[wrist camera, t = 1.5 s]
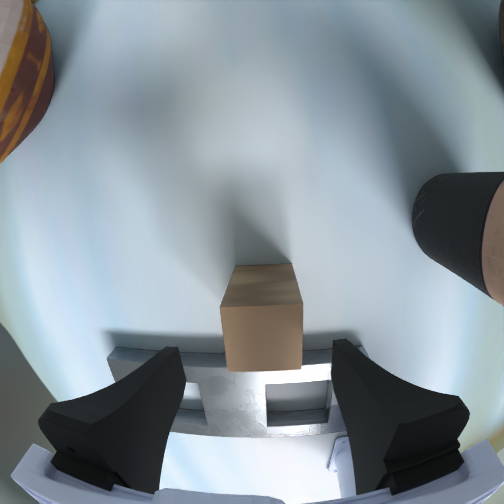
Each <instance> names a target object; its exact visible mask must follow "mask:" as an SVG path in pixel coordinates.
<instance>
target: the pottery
mask: <svg viewBox="0 0 504 504" xmlns="http://www.w3.org/2000/svg"><path fill="white" fill-rule="evenodd" d="M499 34H500V41H501V46H502V52H503V56H504V0H501V5H500V10H499Z"/></svg>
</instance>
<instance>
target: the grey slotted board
mask: <svg viewBox="0 0 504 504" xmlns="http://www.w3.org/2000/svg"><path fill="white" fill-rule="evenodd" d="M355 347H356V348H357V349H359V350H360V351H361V352H362V353H363V354H364V355H366V356H367V357H368V358H369V356H368V354H367V352H366V351H365V349H364V347H363V345H361V346H355ZM332 350H333V349H324V350H312V351H302V370H288V371H264V372H228V368H227V360H226V354H220V353H184V352H179V353H180V357H181V361H182V364H183V368H184V372H185V375H186V379H187V380H186V382H192V383H198V386H199V391H200V395H201V399H202V403H203V407H204V411H199V410H187V409H178V411H177V414H176V416H175V419H174V422H173V424H172V427H171V430H170V432H177V433H186V434H195V435H206V436H221V437H289V436H304V435H315V434H324V433H333V432H340V431H347V430H346V426H345V423H344V420H343V417H342V414H341V411H340V408H339V405H338V402H337V399H336V396H335V393H334V390H333V385H332V380H331V374H330V373H331V362H332ZM158 352H159V351H151V350H139V349H129V348H120V347H116V348H115V349H114V350H113V351H112V352H111V354H110V355H109V356H108V357H107V361H108V364H109V367H110V369H111V372H112V375H113V377H114V380H115V382H117V381H119V380H121V379H122V378H124V377H125V376H127V375H128V374H130V373H131V372H133V371H134V370H136V369H137V368H139V367H140V366H141V365H143V364H144V363H145V362H147V361H148V360H149V359H150V358H152V357H153V356H154V355H156V354H157V353H158ZM369 359H370V358H369ZM321 380H329V384H328V392H327V399H326V407H325V408H324V409H314V410H302V411H287V412H267V398H266V384H276V383H295V382H309V381H321Z"/></svg>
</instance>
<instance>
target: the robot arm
mask: <svg viewBox="0 0 504 504" xmlns="http://www.w3.org/2000/svg"><path fill="white" fill-rule="evenodd" d="M330 374H331V380H332V385H333V390H334V393H335V396H336V399H337V402H338V405H339V408H340V411H341V414H342V417H343V420H344V423H345V426H346V430H347V433H348V437H341V438H338V439H336V441H335V445H334V449H333V453H332V456H331V460H330V464H329V468H328V472H329V473H334V472H337V475H338V481H339V487H340V492H341V499H335V500H329V501H322V502H314V503H305V504H482V503H483V502H484V501H485V500H486V499H487V498H489V496H491V495H492V494H493V493H494V492H495V491H496V490H497V489H498V488H499V487H501V486H502V485H503V484H504V466H503V464H502V463H501V461H500V459H499V458H498V456H497V454H496V453H495V451H494V449H493V448H492V446H491V444H490V443H489V441H488V440H487V439H484V440H483V441H481V442H479V443H477V444H475V445H473V446H471V447H469V448H468V449H466V450H465V451H463V452H462V453H461V454H460V452H459V450H458V448H459V447H460V443H459V441H458V440H457V439H458V437H459V436H460V434H461V432H462V431H463V429H464V428H465V426H466V424H467V422H468V420H469V415H470V412H469V410H468V408H467V407H466V406H465V404H464V403H463V401H462V400H461V399H460V397H459V396H455V395H449V394H443V393H438V392H435V391H431V390H427V389H424V388H421V387H419V386H416V385H414V384H411V383H409V382H407V381H404V380H402V379H400V378H399V377H397V376H395V375H393V374H391V373H390V372H388V371H386V370H385V369H383V368H382V367H380V366H379V365H377V364H376V363H375V362H373V361H372V360H371V359H369V358H368V357H367V356H366V355H364V354H363V353H362V352H361V351H360V350H359V349H357V348H356V347H355V346H354V345H353V344H352V343H350V342H349V341H348V340H347V339H339V340H333V350H332V362H331V373H330ZM186 380H187V379H186V375H185V372H184V368H183V364H182V361H181V357H180V353H179V349H178V347H165V348H164V349H162V350H161V351H159V352H158V353H157V354H156V355H154V356H153V357H152V358H150V359H149V360H148V361H147V362H145V363H144V364H143V365H141V366H140V367H139V368H137V369H136V370H134V371H133V372H131V373H130V374H128V375H127V376H125V377H124V378H122V379H121V380H119V381H117V382H115V383H114V384H112V385H110V386H108V387H106V388H103V389H101V390H99V391H96V392H94V393H92V394H89V395H86V396H83V397H80V398H76V399H72V400H68V401H62V402H57V403H51V404H50V405H49V407H48V408H47V409H46V410H45V412H44V413H43V414H42V416H41V417H40V418H39V420H38V424H39V427H40V429H41V430H42V432H43V434H44V435H45V436H46V438H47V439H48V440H49V442H50V443H51V444H52V445H53V447H54V448H55V449H56V450H57V452H56V454H55V455H53V454H52V453H51V452H49V451H48V450H46V449H43V448H41V447H39V446H38V445H36V444H32V446H31V447H30V448H29V450H28V451H27V453H26V454H25V456H24V457H23V458H22V460H21V461H20V463H19V464H18V466H17V467H16V468H15V470H14V472H13V473H12V474H11V477H12V478H13V479H14V480H15V481H16V482H17V483H18V484H19V485H20V486H21V487H22V488H23V489H24V490H26V491H27V492H28V493H29V494H30V495H31V496H32V497H34V498H35V499H36V500H37V501H39V502H40V503H41V504H285V503H284V502H283V501H282V500H280V499H276V498H272V497H269V496H256V495H230V494H215V493H204V492H196V491H188V490H181V489H169V488H164V489H161V490H159V484H160V476H161V469H162V463H163V458H164V453H165V448H166V444H167V439H168V436H169V433H170V430H171V427H172V424H173V422H174V419H175V416H176V414H177V411H178V409H179V406H180V403H181V401H182V398H183V394H184V390H185V385H186Z"/></svg>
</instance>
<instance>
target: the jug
mask: <svg viewBox="0 0 504 504" xmlns="http://www.w3.org/2000/svg"><path fill="white" fill-rule="evenodd" d="M53 88H54V70H53V55H52V47H51V39H50V34H49V31H48V29H47V27H46V25H45V23H44V21H43V19H42V17H41V15H40V13H39V11H38V9H37V8H36V7H35V6H34V4H33V3H32V2H31V1H30V0H0V164H1V162H2V161H3V160H4V159H5V158H6V157H7V156H8V155H9V154H10V153H11V152H12V151H13V150H14V149H15V148H16V147H17V146H18V145H19V144H20V143H21V142H22V141H23V140H24V139H25V138H26V137H27V136H28V135H29V134H30V133H31V132H32V131H33V130H34V129H35V127H36V126H37V125H38V124H39V122H40V121H41V119H42V118H43V116H44V114H45V112H46V110H47V108H48V105H49V103H50V100H51V97H52V93H53Z"/></svg>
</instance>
